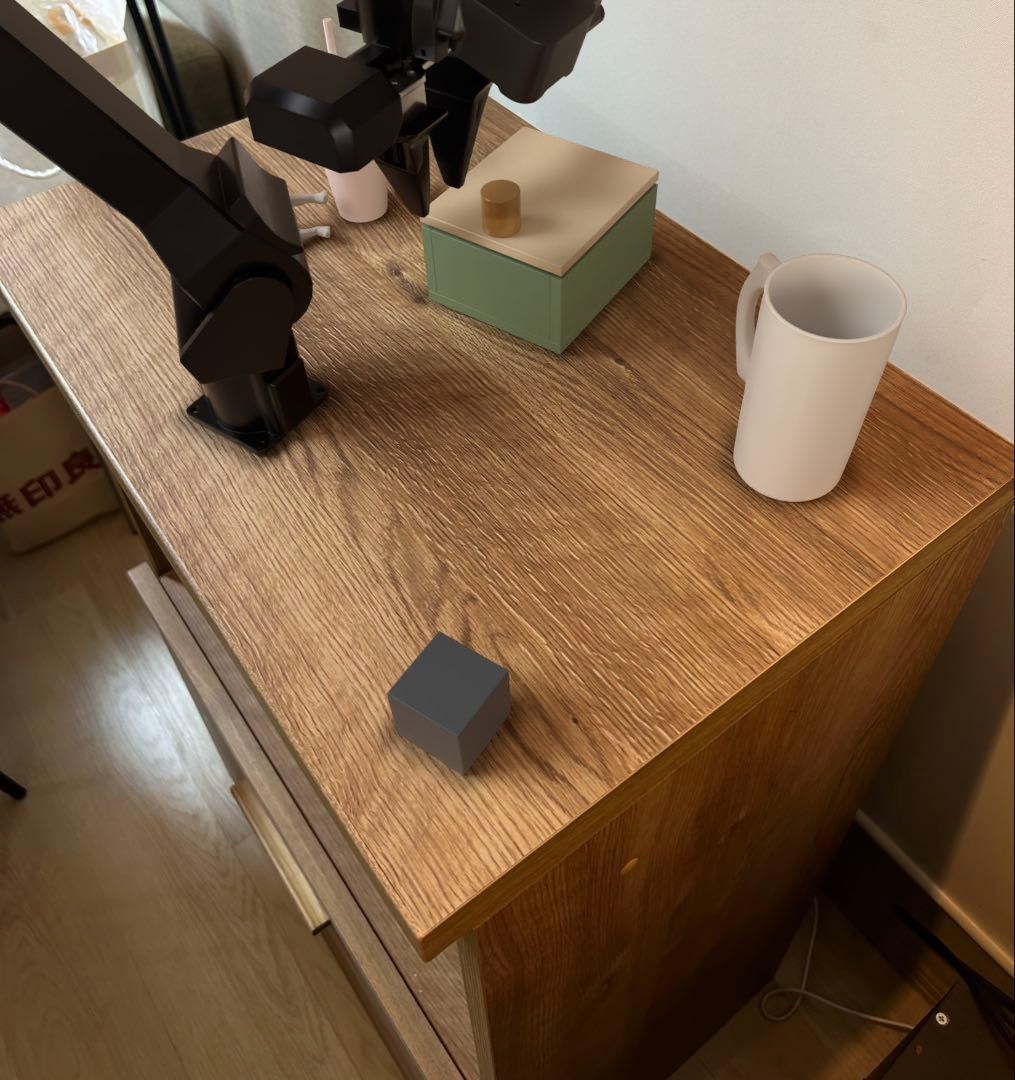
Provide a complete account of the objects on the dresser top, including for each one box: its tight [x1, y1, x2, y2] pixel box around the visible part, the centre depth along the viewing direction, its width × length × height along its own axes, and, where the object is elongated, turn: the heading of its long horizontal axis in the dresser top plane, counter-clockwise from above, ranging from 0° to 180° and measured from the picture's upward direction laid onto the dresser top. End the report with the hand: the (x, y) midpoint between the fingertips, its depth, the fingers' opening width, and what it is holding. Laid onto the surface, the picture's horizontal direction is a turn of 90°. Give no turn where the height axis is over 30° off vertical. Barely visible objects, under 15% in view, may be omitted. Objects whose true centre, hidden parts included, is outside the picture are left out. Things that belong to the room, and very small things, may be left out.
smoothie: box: [322, 17, 389, 224], centre depth 68 cm, size 6×6×14 cm
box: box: [420, 182, 659, 355], centre depth 66 cm, size 11×12×6 cm
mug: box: [732, 252, 908, 503], centre depth 53 cm, size 10×7×12 cm, turn 25°
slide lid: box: [419, 125, 660, 276], centre depth 62 cm, size 11×12×3 cm
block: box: [386, 630, 512, 776], centre depth 46 cm, size 4×4×4 cm
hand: (437, 200), depth 53 cm, fingers open, 3 cm apart
